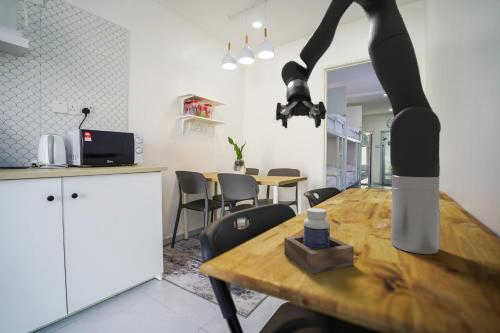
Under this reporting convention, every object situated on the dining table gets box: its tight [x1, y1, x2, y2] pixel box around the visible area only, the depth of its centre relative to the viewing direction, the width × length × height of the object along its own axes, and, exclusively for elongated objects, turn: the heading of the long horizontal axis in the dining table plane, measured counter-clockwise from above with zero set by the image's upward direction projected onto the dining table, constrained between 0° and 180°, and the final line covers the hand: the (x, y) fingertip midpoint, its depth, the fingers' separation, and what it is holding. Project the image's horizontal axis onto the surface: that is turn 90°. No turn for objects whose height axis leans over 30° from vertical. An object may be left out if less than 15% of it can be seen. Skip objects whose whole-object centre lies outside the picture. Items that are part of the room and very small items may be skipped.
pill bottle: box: [303, 207, 331, 250], centre depth 48 cm, size 5×5×10 cm
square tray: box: [283, 234, 355, 274], centre depth 48 cm, size 10×10×4 cm
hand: (301, 125), depth 62 cm, fingers open, 8 cm apart
